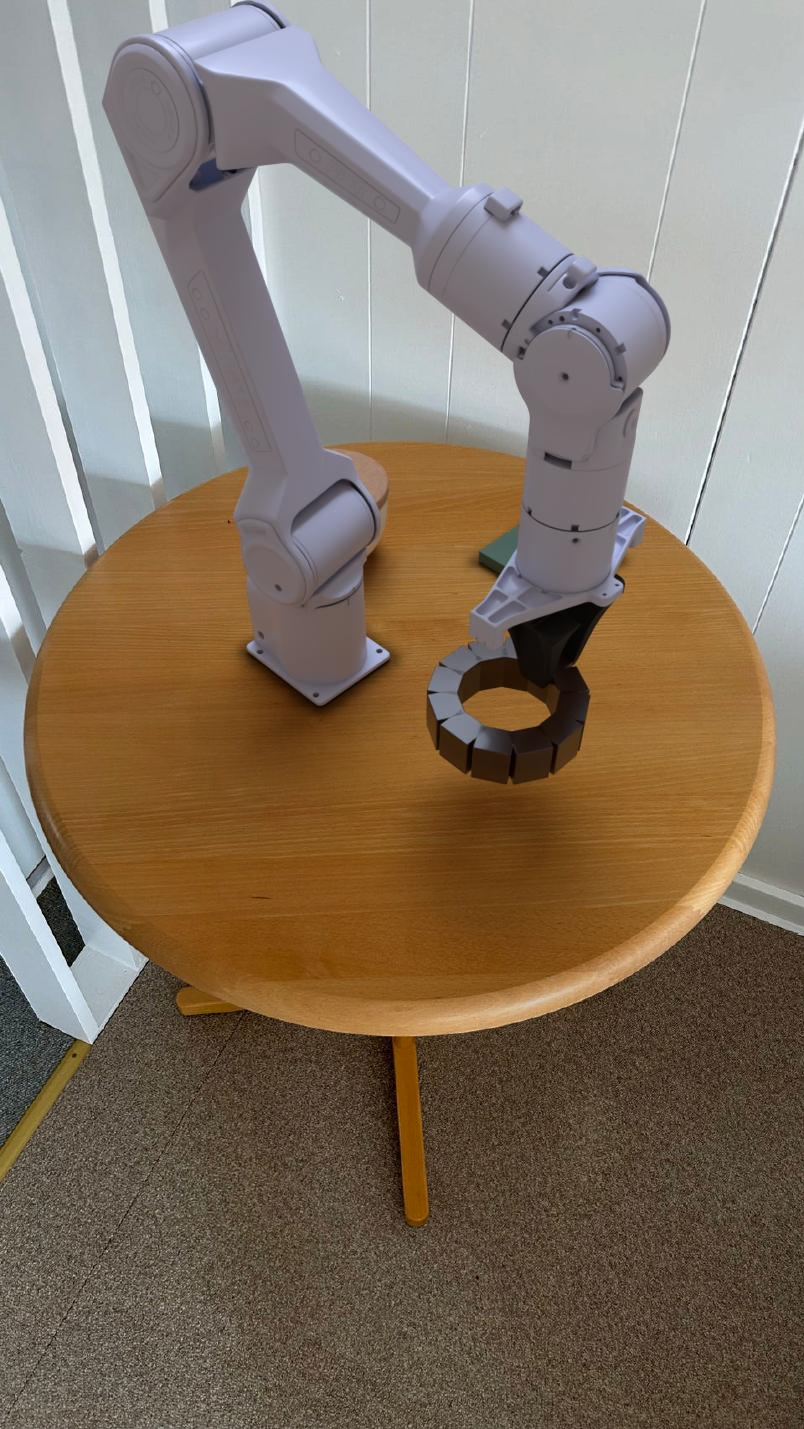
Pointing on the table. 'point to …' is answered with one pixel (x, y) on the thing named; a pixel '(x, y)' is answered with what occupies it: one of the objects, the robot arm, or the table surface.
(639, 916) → the table surface
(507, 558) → the peg stand
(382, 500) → the trinket box
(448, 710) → the ring
